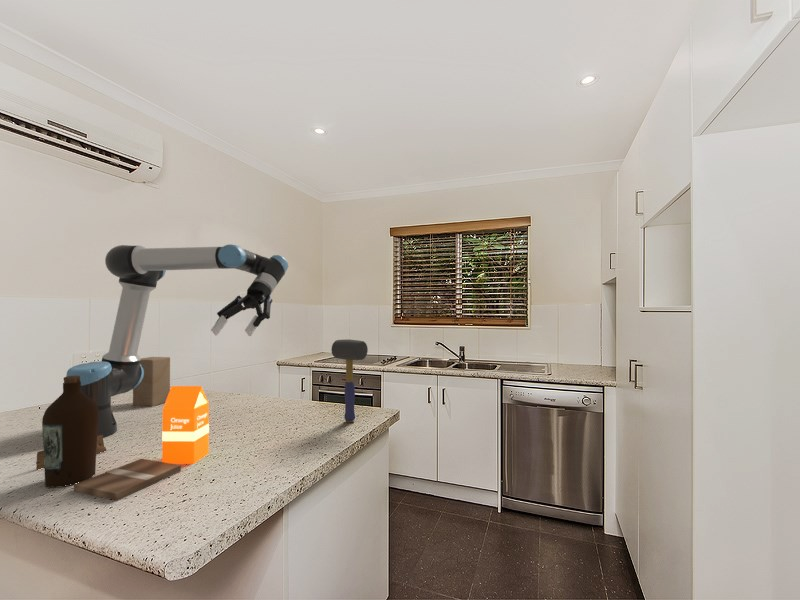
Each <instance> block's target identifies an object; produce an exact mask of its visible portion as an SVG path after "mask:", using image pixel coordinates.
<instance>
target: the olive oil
mask: <svg viewBox="0 0 800 600" xmlns="http://www.w3.org/2000/svg"><path fill="white" fill-rule="evenodd" d="M98 421H99V410H98V407H97V404H96V403H95V402H94V401H93V400H92V399H90V398H89V397H88V396H86V395H85V394H84V393H82V392H81V381H80V376H68V377H66V376H64V377H63V383H62V393H61V394H60V395H59V396H58V397H57V398H56V399H54V401H53V402H52V403H51V404H50V405H49V406H48V407H47V408H46V410H45V411H44V414H43V415H42V419H41V425H42V426H41V427H42V440H43V442H42V444H43V446H42V447H43V450H44V485H45V486H46V487H48V486H49V488H60V487H59V486H63V487H66V486H65V485H69V486H71V485H70V484H73V485H74V484H75V483H78V482H82V481H84V480H87V479H89V478H92V476H93V475H94V476H96V475H95V474H96V470H97V469H96V467H97V454H96V449H97V434H98ZM94 476H93V477H94Z"/></svg>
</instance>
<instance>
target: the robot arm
mask: <svg viewBox="0 0 800 600" xmlns="http://www.w3.org/2000/svg"><path fill="white" fill-rule="evenodd" d="M104 262H105V266H106V269H107V270H108V271H109V272H110V273H111V274H112V275H113V276H115V277H117V278H119V279H118V283H119V285H121V287H122V289H121V293H120V294H121V295H120V297H119V304H118V308H117V312H116V317H115V321H114V326H113V331H112V334H111V340H110V344H109V350H108V352H106V353H105V354H103V355H102V356H101V360H100V361H91V362H87V363H79V364H77V365H74V366H72V367H70V368H68V370H67V371H66V375H65V377H68V376H80V381H81V392H82V393H84V394H85V395H86V396H88V397H89V398H90V399H92V400H93V401H94V402H95V403H96V404H97V407H98V410H99V421H98V434H97V436H98V435H101V434H103V438H105V437H108V436H111V435H113V434H115V433H116V432H117V431H118V423H117V420H116V418H115V416H114V414H113V412H112V411H113V410H112V408H111V407H112V405H111V403H112V398H111V397H114V396H117V395H121V394H125V393H128V392H130V391H133V389H134V388H135V387H137V386H138V385H139V384H140V383H141V381H142V379H143V376H144V370H143V368H142V367H141V364H140V360H141V358H142V357H140V356H139V355H138V350H139V346H140V342H141V338H142V337H141V336H142V330H143V328H144V327H143V326H144V323H145V318H146V313H147V309H148V304H149V299H150V294H151V292H152V291H153V290H155V289H157V285H158V282H159V281H161V279H163V278H164V277H165V274H166V271H182V270H183V271H187V270H191V271H192V270H217V269H218V270H219V269H220V270H221V269H222V270H223V269H225V270H228V269H231V270H232V269H233V270H234V269H235V270H239V271H241V272H246V273H249V274H253V275H255V276H256V277H255V278H254V279H253V281H252V283H251V284H250V285H249V286H248V288H247V290H246V295H244V296H243V297H242V296H241V295H237V296H236V297H235V299H233V300H232V301H231V302H229V303H228V304H227V305H226V306H223V308H221V310H219V311H217V312H216V315H217V316H218V317H219V318H217V320H216V322H215V323H214V325H213V326H212V327H211V329H210V331H211V332H212V333H213V334H214V336H218V335H219V334H220V332H221V331H222V330H223V328H224V327H225V326H226V324H227V323H228V319H230V318H232V317H234V316H235V315H236V314H238V313H240V312H242V311H246V310H248V309H253V310H254V309H255V312H256V315H254V316H253V317H252V318H251V320H250V322H249V323H248V325H247V326H246V328H245V329H244V331H245V333H246V334H247V336H248V337H252V335H253V333H254V332H255V331H256V328H257V327H259V326H260V324H261V323H262V321H264V320H269V319H270V318H271V307H272V303H273V299H272V297H271V295H272V294H273V292H274V290H275V289H276V287H277V286H278V284H279V283H280V281H281V280H282V278H283V277H284V276H285V274H286V273H287V270H288V268H289V262H288V261H287V259H286V258H285V257H284V256H282V255H280V254H277V255H276V254H274V255H271V256H270V257H269V258H268V257H267V256H264V255H263V256H262V255H260V254H258V253H255V252H252V251H251V250H247V249H244V248H242V247H241V246H240V245H235V244H225V245H223V246H197V247H196V246H195V247H187V246H186V247H154V248H153V247H152V248H146V247H145V246H143V245H125V244H124V245H123V244H121V245H117V246H114V247H113V248H111V249H110V250H109V251H108V252H107V253H106V256H105V261H104ZM242 304H243V305H242ZM262 304H263V309H262Z"/></svg>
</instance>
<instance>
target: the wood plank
mask: <svg viewBox="0 0 800 600" xmlns="http://www.w3.org/2000/svg"><path fill="white" fill-rule="evenodd" d="M104 451H106V452H107V448H106V446H105V443H104V437H103V434H101V435H98V436H97V449H96V453H99V454H101V453H100V452H103V453H105V452H104ZM35 465H36V469H35V470H38V469H41V468H44V449H43V450H41V451H40V450H39V451H37V454H36V462H35ZM44 469H45V468H44ZM41 470H42V469H41ZM38 471H39V470H38Z"/></svg>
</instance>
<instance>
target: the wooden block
mask: <svg viewBox="0 0 800 600" xmlns="http://www.w3.org/2000/svg"><path fill="white" fill-rule="evenodd" d="M140 358H141V360H140V364H141V367H142V368H143V370H144V376H143V379H142V381H141V383H140V384H139V385H138V386H137V387H135V388H134V389H132V406H133V407H148V406H150V408H151V407H152V406H153V407H155V406H159V405H163V404H165V402H166V399H167V397H168V394H169V392H170V389H171V357H170V356H148V357H140ZM162 403H163V404H162ZM153 407H152V408H153Z"/></svg>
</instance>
